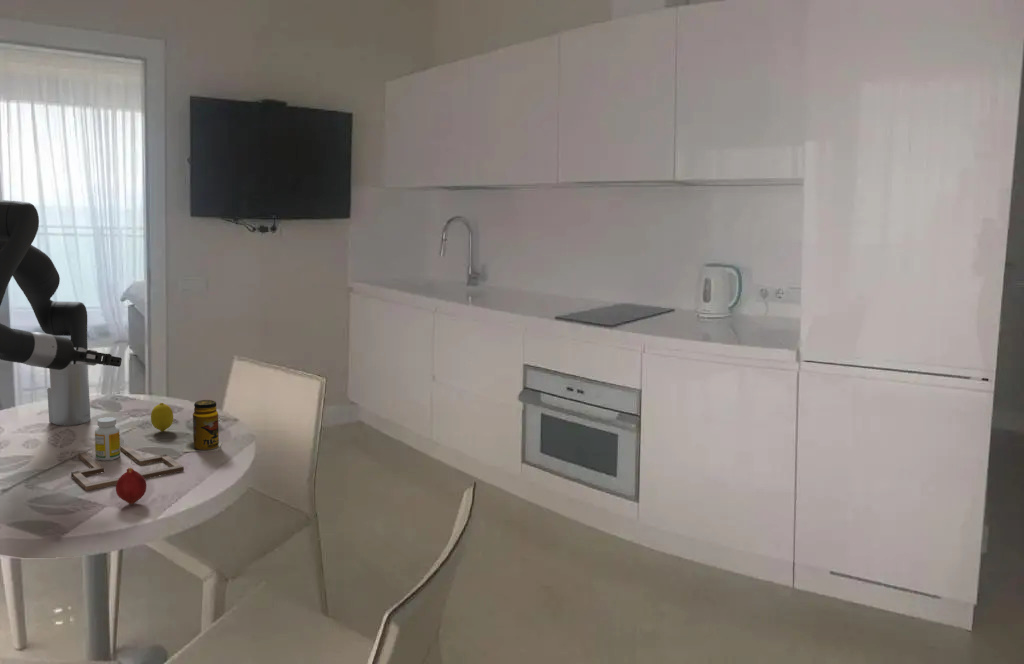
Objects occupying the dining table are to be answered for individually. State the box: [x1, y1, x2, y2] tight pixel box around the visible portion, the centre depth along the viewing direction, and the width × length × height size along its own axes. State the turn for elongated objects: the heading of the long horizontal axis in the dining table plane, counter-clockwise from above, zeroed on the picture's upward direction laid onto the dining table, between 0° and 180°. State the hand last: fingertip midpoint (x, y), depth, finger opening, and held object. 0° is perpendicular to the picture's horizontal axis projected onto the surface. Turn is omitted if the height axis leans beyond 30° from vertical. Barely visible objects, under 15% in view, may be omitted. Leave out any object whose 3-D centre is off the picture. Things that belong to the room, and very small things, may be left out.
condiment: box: [182, 399, 223, 453], centre depth 206 cm, size 7×8×12 cm
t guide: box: [70, 444, 185, 492], centre depth 191 cm, size 24×21×1 cm
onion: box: [115, 467, 147, 505], centre depth 169 cm, size 6×6×8 cm
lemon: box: [150, 402, 174, 433], centre depth 217 cm, size 6×6×8 cm
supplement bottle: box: [94, 416, 121, 462], centre depth 195 cm, size 5×5×10 cm
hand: (108, 361), depth 194 cm, fingers open, 8 cm apart
